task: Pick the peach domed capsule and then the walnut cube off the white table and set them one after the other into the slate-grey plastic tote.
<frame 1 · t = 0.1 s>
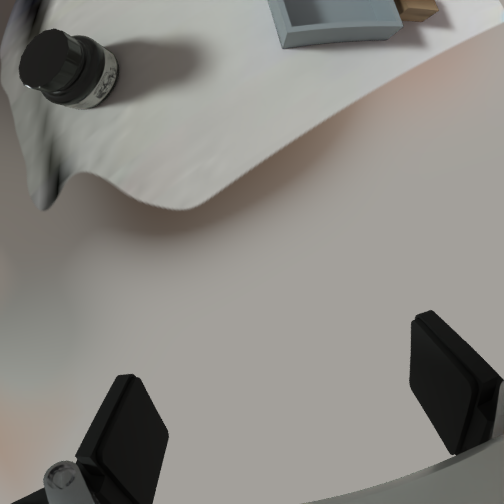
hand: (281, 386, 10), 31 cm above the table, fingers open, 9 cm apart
walnut cube: (402, 6, 32), on the table
ink bottle: (91, 78, 35), on the table
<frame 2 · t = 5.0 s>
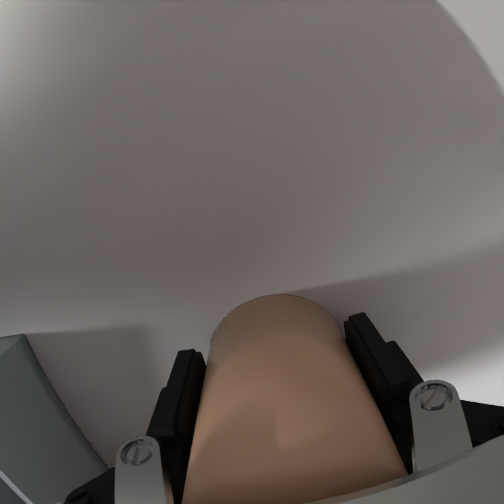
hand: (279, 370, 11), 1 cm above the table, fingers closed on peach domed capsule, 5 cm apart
tote: (23, 452, 14), on the table
peach domed capsule: (277, 355, 12), on the table, touching gripper
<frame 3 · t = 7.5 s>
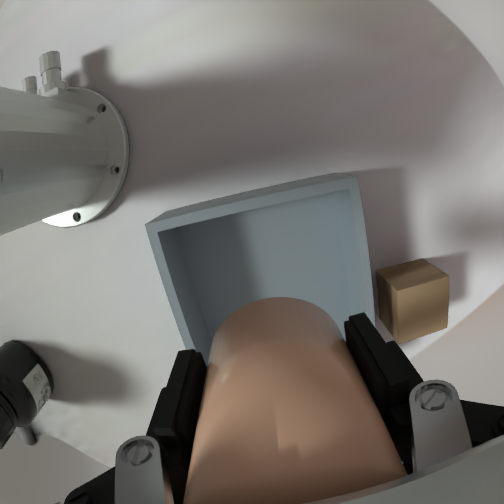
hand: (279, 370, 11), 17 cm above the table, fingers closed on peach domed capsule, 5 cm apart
walnut cube: (401, 288, 29), on the table
tote: (272, 289, 28), on the table
peach domed capsule: (277, 357, 12), point 16 cm above the table, touching gripper
ink bottle: (27, 368, 32), on the table
when the fingers open (4 cm above the table, at t = 10.3 s): peach domed capsule drops 2 cm, resting on tote.
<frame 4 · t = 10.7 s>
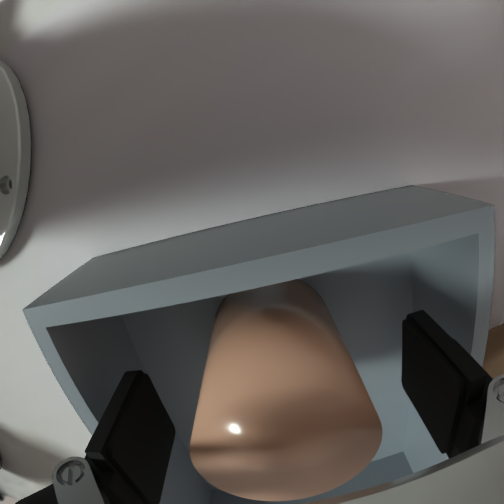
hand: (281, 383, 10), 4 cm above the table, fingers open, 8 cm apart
walnut cube: (478, 364, 16), on the table
tote: (288, 387, 15), on the table
peach domed capsule: (272, 329, 14), point 1 cm above the table, touching tote
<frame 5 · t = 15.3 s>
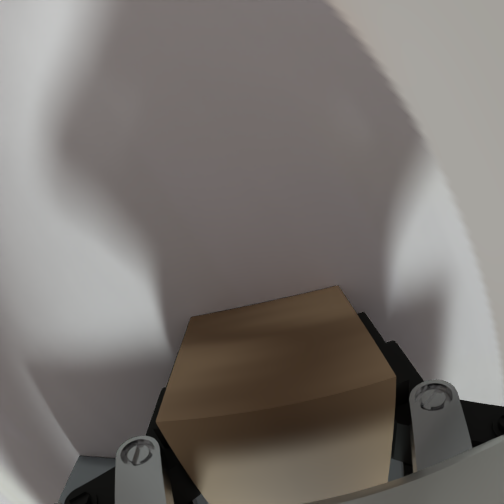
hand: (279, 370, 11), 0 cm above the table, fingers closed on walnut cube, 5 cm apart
walnut cube: (278, 362, 11), on the table, touching gripper
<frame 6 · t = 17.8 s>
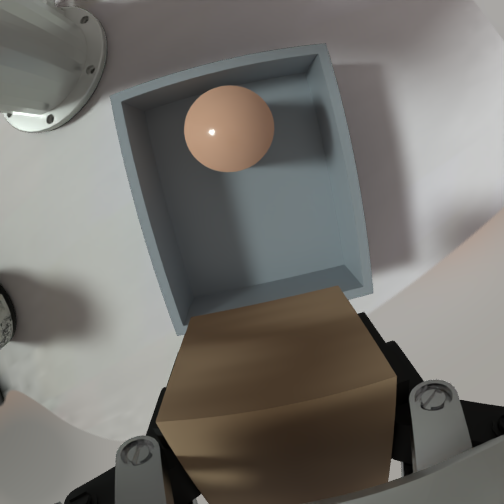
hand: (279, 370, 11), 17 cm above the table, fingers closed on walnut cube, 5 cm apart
walnut cube: (278, 362, 11), point 16 cm above the table, touching gripper
tote: (246, 185, 25), on the table
peach domed capsule: (234, 136, 24), point 1 cm above the table, touching tote
when the fingers open (4 cm above the table, at t = 20.4 s): walnut cube drops 2 cm, resting on tote.
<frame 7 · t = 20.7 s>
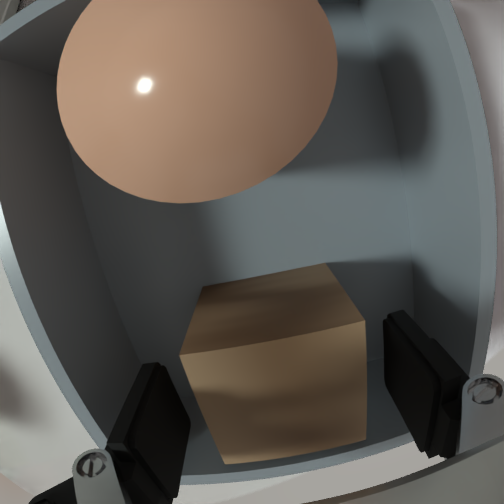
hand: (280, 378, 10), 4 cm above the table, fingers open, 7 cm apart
walnut cube: (274, 328, 14), point 1 cm above the table, touching tote
tote: (247, 212, 13), on the table
peach domed capsule: (221, 113, 11), point 1 cm above the table, touching tote
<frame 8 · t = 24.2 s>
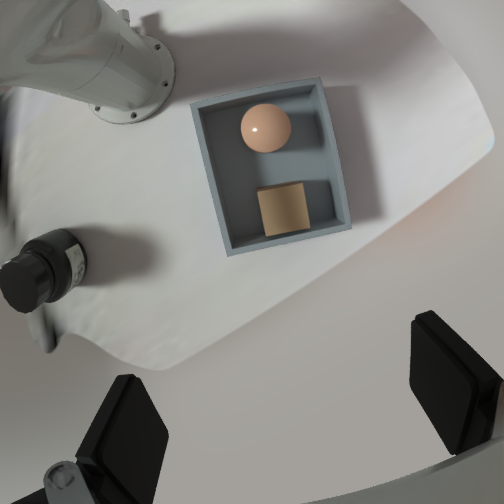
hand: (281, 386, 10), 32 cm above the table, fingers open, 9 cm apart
walnut cube: (280, 203, 40), point 1 cm above the table, touching tote
tote: (270, 164, 39), on the table
peach domed capsule: (263, 133, 38), point 1 cm above the table, touching tote
ink bottle: (64, 257, 43), on the table
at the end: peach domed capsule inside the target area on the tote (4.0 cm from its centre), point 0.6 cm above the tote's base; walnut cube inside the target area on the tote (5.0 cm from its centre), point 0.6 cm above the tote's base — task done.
